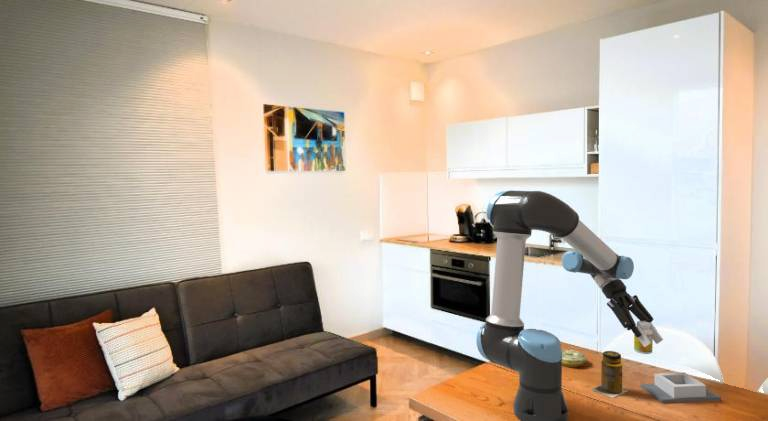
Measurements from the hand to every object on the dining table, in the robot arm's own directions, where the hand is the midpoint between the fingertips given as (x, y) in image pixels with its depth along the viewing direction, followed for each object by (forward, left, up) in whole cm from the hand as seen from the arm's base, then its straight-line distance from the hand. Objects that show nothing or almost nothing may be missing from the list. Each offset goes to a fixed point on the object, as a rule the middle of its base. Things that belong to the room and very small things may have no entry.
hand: (653, 343), depth 155 cm
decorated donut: (-19, +20, -14) cm, 31 cm away
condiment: (-16, -4, -14) cm, 22 cm away
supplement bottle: (-2, +3, -4) cm, 6 cm away
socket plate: (+4, -8, -13) cm, 16 cm away
